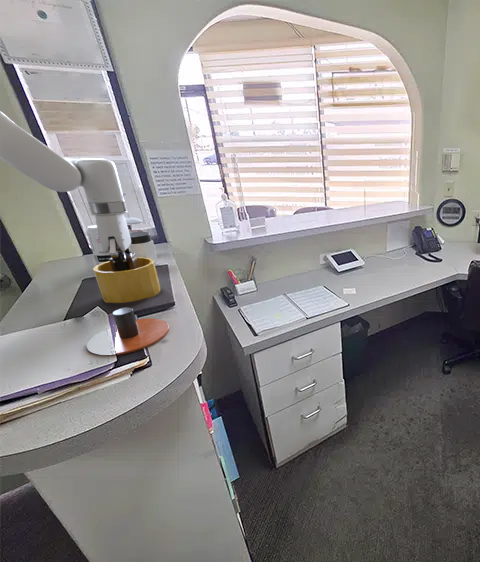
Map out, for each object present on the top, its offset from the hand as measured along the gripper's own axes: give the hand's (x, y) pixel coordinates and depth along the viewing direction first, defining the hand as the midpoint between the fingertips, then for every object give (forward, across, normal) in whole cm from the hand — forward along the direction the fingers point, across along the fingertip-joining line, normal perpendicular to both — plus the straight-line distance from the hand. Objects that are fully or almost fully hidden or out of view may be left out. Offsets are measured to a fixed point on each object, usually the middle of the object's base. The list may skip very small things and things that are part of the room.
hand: (126, 271), depth 89 cm
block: (0, 0, 0) cm, 0 cm away
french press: (+8, -44, -6) cm, 45 cm away
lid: (+7, +28, +4) cm, 29 cm away
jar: (+8, -28, -1) cm, 29 cm away
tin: (+7, 0, 0) cm, 7 cm away
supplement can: (+8, -31, -11) cm, 34 cm away
